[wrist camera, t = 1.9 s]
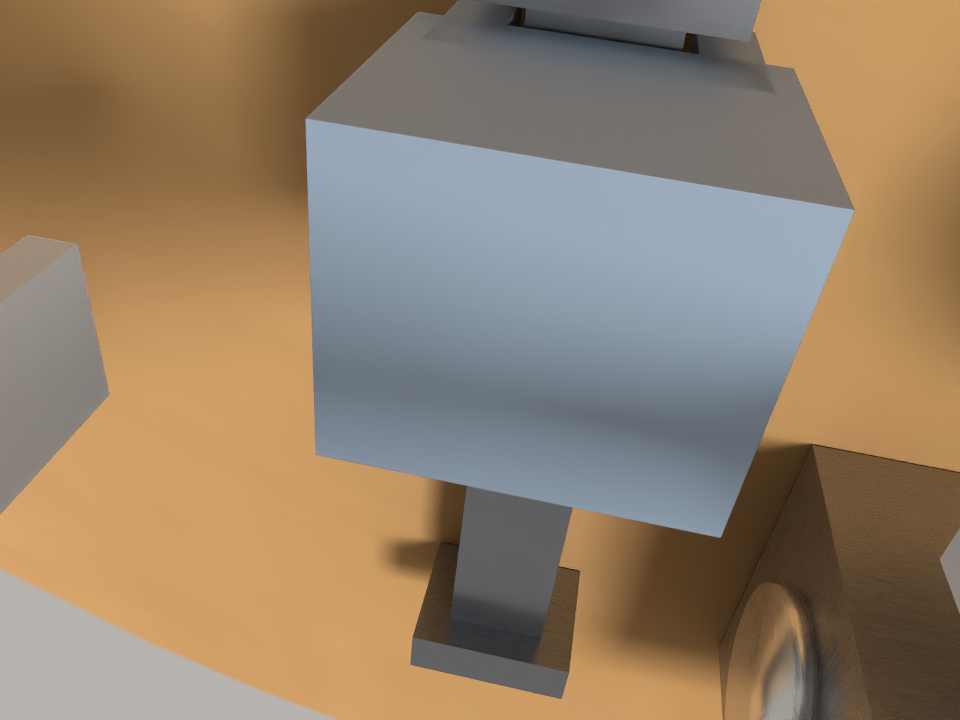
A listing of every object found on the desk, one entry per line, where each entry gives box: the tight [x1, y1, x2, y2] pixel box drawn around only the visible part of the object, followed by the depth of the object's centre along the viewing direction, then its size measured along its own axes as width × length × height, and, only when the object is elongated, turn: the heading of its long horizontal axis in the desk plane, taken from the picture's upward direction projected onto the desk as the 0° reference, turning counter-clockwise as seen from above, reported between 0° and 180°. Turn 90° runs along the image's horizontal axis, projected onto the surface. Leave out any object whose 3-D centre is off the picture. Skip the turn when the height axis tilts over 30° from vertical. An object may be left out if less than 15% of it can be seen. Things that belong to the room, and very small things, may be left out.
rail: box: [410, 0, 761, 699], centre depth 21 cm, size 22×5×4 cm, turn 174°
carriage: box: [305, 0, 855, 538], centre depth 15 cm, size 6×7×8 cm
